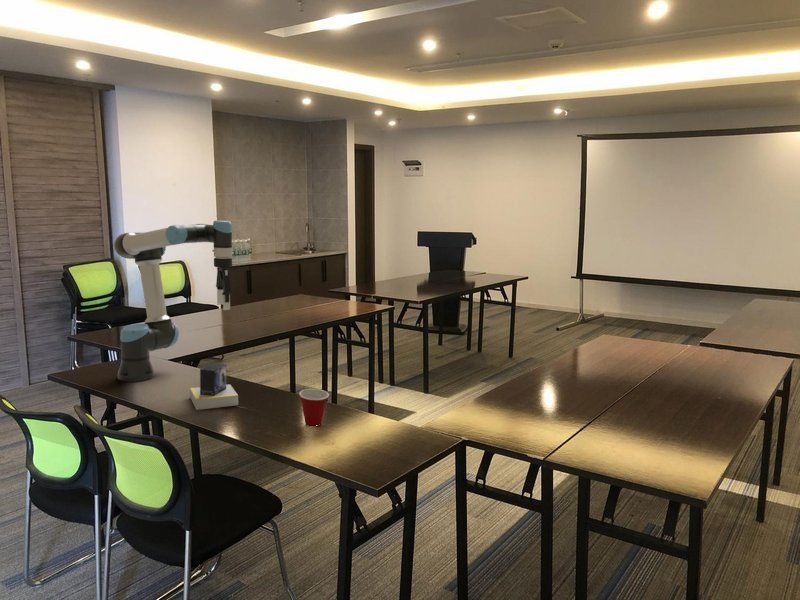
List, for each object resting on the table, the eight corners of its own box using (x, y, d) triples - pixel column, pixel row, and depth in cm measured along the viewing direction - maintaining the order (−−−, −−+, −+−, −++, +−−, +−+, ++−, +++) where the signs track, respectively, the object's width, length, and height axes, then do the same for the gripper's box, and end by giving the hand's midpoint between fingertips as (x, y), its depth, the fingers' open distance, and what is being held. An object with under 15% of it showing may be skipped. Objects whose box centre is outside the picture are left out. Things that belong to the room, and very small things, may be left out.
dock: (190, 397, 256) (190, 387, 256) (230, 393, 263) (230, 384, 263) (196, 409, 242) (196, 399, 242) (238, 405, 249) (238, 395, 249)
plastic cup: (316, 431, 224) (316, 399, 222) (292, 425, 229) (292, 393, 227) (334, 423, 233) (335, 391, 231) (311, 417, 238) (312, 386, 237)
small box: (214, 396, 246) (214, 370, 245) (199, 394, 248) (198, 369, 246) (227, 388, 257) (227, 363, 255) (212, 387, 258) (212, 362, 256)
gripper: (208, 254, 275) (209, 302, 278) (219, 260, 252) (220, 312, 256) (226, 254, 278) (226, 302, 281) (238, 260, 256) (238, 311, 259)
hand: (223, 307), depth 269 cm, fingers open, 13 cm apart
